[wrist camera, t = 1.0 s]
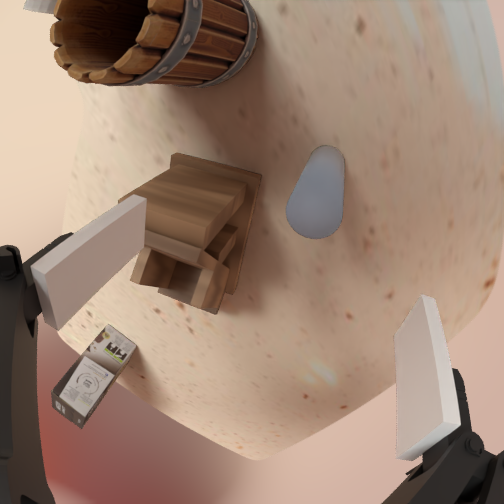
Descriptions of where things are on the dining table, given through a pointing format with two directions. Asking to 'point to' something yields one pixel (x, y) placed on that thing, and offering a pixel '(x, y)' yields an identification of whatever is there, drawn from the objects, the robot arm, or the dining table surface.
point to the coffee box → (92, 376)
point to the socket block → (195, 230)
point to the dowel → (318, 195)
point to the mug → (151, 40)
